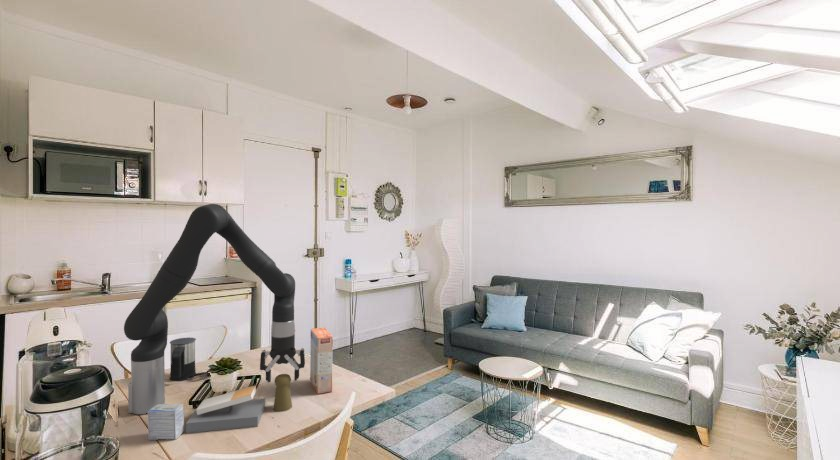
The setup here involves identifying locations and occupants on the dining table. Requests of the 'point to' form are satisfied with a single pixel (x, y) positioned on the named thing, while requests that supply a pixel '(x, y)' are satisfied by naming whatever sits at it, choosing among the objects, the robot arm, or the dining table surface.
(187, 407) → the dining table surface
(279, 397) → the olive green pawn
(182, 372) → the milk frother
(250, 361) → the dining table surface
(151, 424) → the medicine box
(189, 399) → the dining table surface
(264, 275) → the robot arm
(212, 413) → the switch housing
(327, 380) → the cracker box
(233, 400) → the rocker switch
